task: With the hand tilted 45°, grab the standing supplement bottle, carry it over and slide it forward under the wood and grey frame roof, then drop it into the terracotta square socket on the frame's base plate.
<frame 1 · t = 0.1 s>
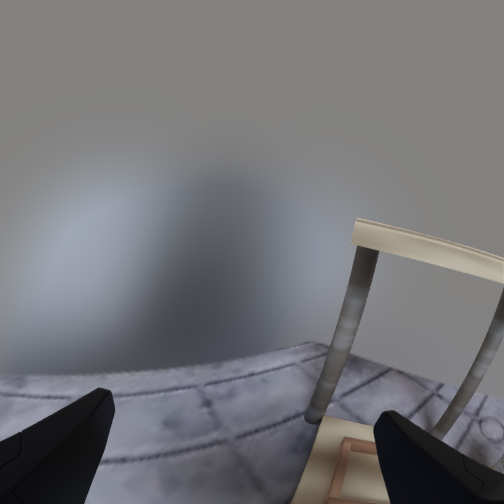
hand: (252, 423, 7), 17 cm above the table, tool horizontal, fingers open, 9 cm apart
wood and grey frame: (370, 485, 17), on the table
supplement bottle: (483, 498, 10), on the table
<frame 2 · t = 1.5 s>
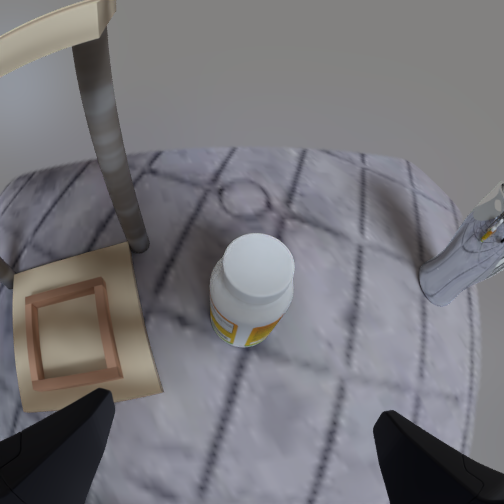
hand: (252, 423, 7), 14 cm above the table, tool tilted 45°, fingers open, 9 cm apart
wood and grey frame: (74, 340, 20), on the table
beer glass: (435, 284, 28), on the table
supplement bottle: (241, 318, 23), on the table
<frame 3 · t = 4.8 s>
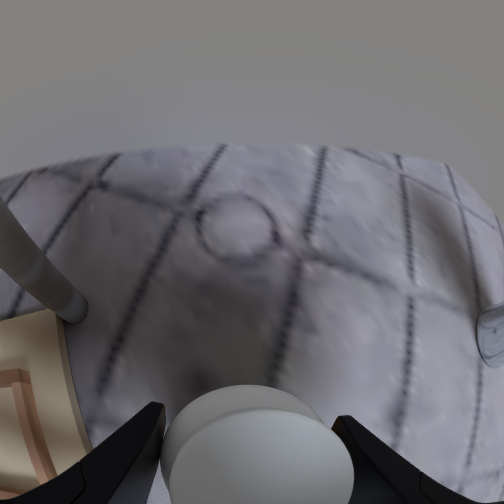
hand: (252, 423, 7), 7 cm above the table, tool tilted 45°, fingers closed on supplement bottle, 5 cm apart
wood and grey frame: (9, 440, 9), on the table
beer glass: (491, 338, 17), on the table
supplement bottle: (234, 437, 12), on the table, touching gripper
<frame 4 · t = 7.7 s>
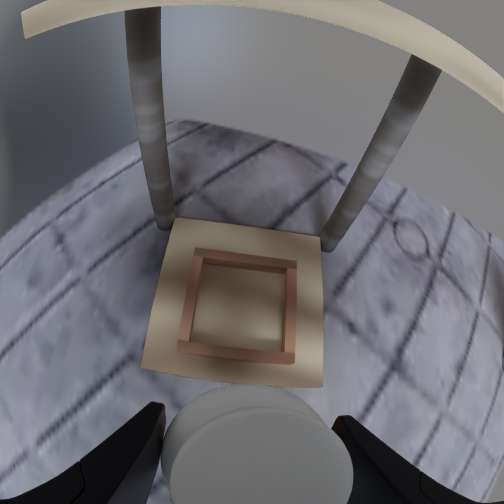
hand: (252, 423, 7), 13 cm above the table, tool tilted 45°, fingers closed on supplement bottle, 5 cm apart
wood and grey frame: (239, 311, 23), on the table
supplement bottle: (234, 436, 12), point 6 cm above the table, touching gripper
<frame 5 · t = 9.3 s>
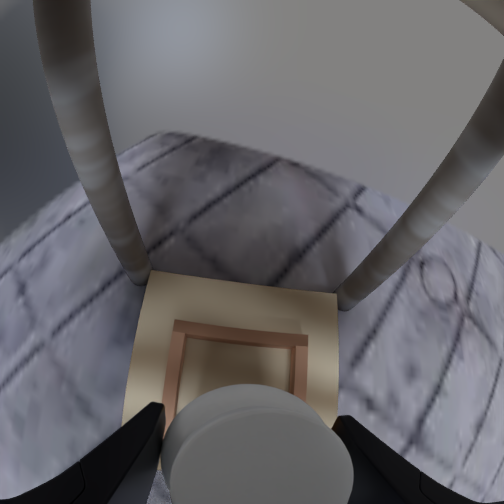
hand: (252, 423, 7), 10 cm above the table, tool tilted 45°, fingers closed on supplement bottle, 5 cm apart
wood and grey frame: (233, 396, 17), on the table
supplement bottle: (234, 436, 12), point 3 cm above the table, touching gripper
when the fingers open (9 cm above the table, at t = 10.8 s): supplement bottle drops 1 cm, resting on wood and grey frame.
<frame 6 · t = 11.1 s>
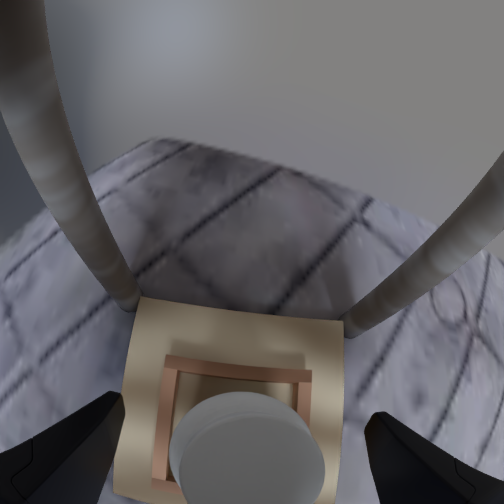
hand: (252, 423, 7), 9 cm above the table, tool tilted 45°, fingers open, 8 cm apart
wood and grey frame: (231, 432, 14), on the table
supplement bottle: (231, 435, 14), point 1 cm above the table, touching wood and grey frame
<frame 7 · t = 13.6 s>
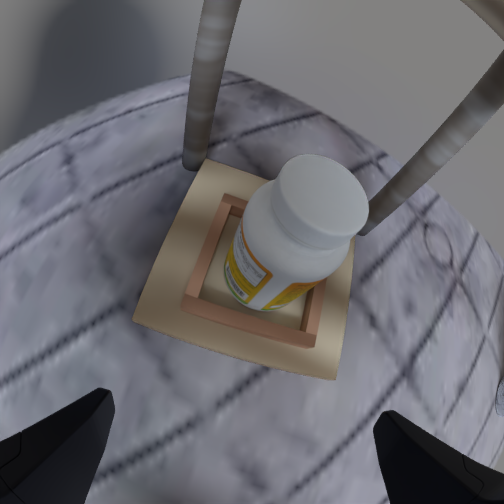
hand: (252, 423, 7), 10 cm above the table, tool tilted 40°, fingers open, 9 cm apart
wood and grey frame: (258, 276, 20), on the table
beer glass: (502, 396, 21), on the table
supplement bottle: (261, 275, 19), point 1 cm above the table, touching wood and grey frame
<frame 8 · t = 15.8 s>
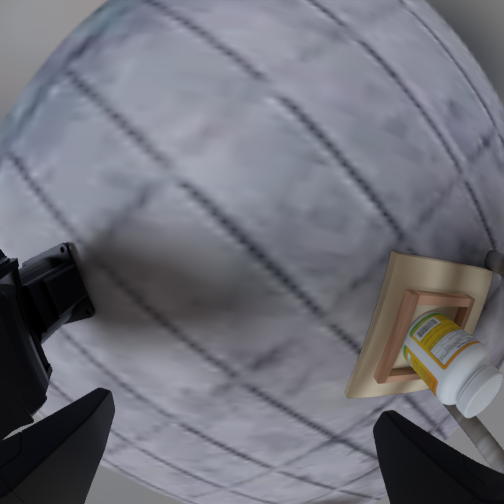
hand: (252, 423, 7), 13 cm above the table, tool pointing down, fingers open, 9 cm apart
wood and grey frame: (419, 330, 22), on the table
supplement bottle: (422, 335, 21), point 1 cm above the table, touching wood and grey frame
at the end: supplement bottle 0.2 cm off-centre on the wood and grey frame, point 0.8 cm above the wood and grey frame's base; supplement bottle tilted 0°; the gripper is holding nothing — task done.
